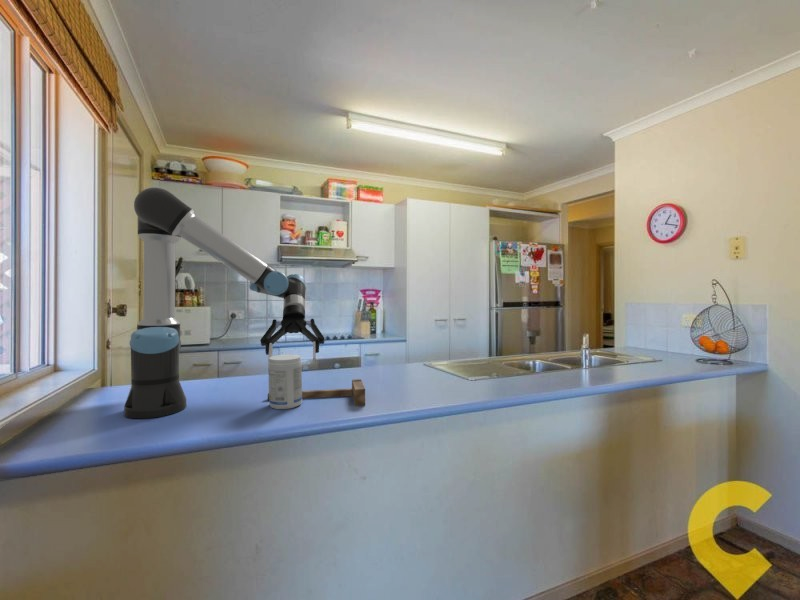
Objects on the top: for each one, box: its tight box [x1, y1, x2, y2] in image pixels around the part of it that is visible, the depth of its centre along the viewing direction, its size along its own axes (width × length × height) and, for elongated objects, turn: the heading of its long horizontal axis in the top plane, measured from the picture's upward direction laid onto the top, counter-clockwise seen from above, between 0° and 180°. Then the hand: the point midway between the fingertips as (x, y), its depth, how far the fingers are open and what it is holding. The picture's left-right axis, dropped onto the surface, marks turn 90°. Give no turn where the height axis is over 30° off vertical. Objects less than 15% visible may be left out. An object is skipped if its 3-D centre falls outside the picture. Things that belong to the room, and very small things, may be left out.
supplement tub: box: [267, 353, 303, 410], centre depth 115 cm, size 10×10×15 cm
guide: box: [267, 378, 366, 407], centre depth 119 cm, size 30×13×5 cm, turn 101°
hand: (292, 361), depth 121 cm, fingers open, 13 cm apart
